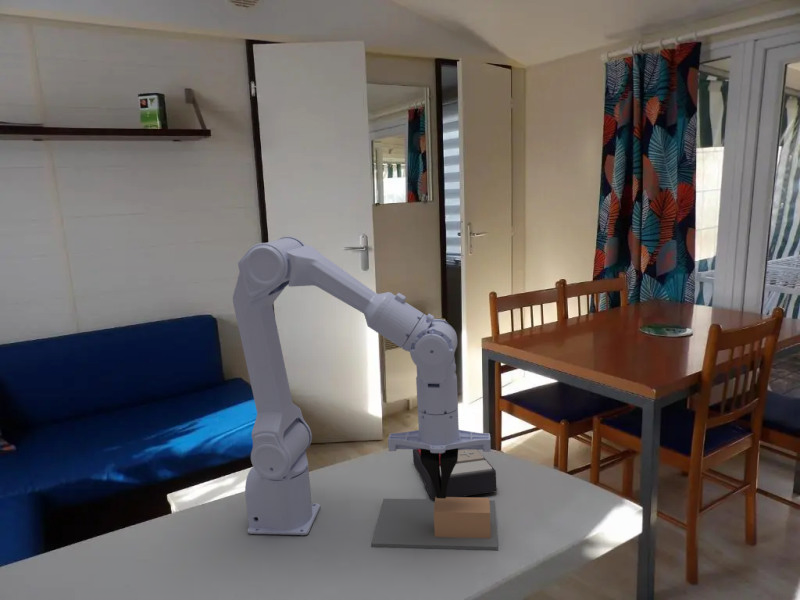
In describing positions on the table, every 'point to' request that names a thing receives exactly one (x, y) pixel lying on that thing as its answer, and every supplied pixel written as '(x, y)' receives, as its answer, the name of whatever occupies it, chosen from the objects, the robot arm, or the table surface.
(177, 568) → the table surface
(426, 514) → the mat
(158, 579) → the table surface
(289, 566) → the table surface
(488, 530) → the block
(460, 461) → the calculator
